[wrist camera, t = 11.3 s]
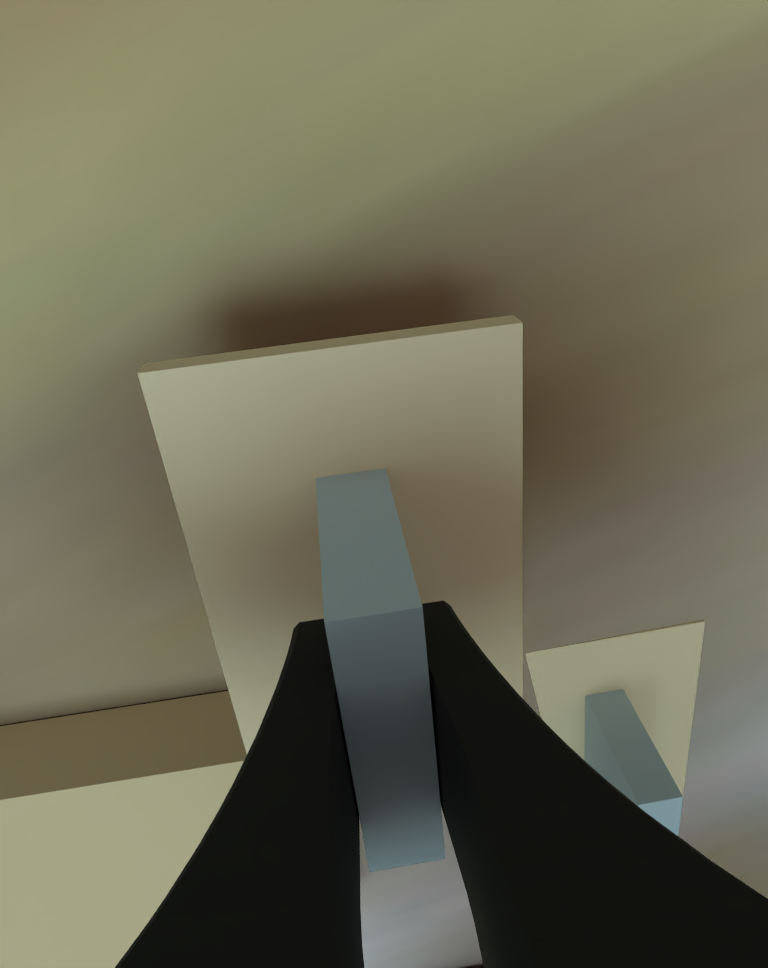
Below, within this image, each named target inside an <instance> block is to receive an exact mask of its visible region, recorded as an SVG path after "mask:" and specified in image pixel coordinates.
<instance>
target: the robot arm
mask: <svg viewBox="0 0 768 968" xmlns="http://www.w3.org/2000/svg"><path fill="white" fill-rule="evenodd" d="M422 607H423V617H424V628H425V639H426V650H427V661H428V672H429V683H430V694H431V705H432V716H433V727H434V738H435V749H436V760H437V771H438V782H439V793H440V803H441V807H442V810H443V813H444V817H445V820H446V823H447V827H448V830H449V834H450V837H451V840H452V844H453V847H454V851H455V854H456V857H457V861H458V864H459V867H460V871H461V874H462V878H463V881H464V884H465V888H466V891H467V895H468V899H469V903H470V907H471V911H472V915H473V918H474V922H475V927H476V932H477V936H478V941H479V946H480V951H481V956H482V961H483V965H484V968H768V899H767V898H766V897H764V896H762V895H761V894H759V893H758V892H757V891H755V890H754V889H752V888H751V887H749V886H748V885H746V884H745V883H743V882H742V881H740V880H739V879H737V878H736V877H734V876H733V875H731V874H730V873H728V872H727V871H725V870H724V869H722V868H721V867H719V866H718V865H716V864H715V863H714V862H712V861H711V860H709V859H708V858H707V857H705V856H704V855H702V854H701V853H700V852H698V851H697V850H696V849H694V848H693V847H692V846H690V845H689V844H688V843H686V842H685V841H684V840H682V839H681V838H680V837H678V836H677V835H676V834H674V833H673V832H672V831H670V830H669V829H668V828H666V827H665V826H663V825H662V824H661V823H659V822H658V821H657V820H655V819H654V818H653V817H651V816H650V815H649V814H647V813H646V812H645V811H643V810H642V809H641V808H640V807H638V806H637V805H636V804H635V803H634V802H632V801H631V800H630V799H629V798H627V797H626V796H625V795H624V794H623V793H621V792H620V791H619V790H618V789H617V788H615V787H614V786H613V785H612V784H611V783H609V782H608V781H607V780H606V779H605V778H604V777H603V776H601V775H600V774H599V773H598V772H597V771H596V770H595V769H593V768H592V767H591V766H590V765H589V764H588V763H587V762H586V761H584V760H583V759H582V758H581V757H580V756H579V755H578V754H577V753H576V752H575V751H574V750H573V749H572V748H570V747H569V746H568V745H567V744H566V743H565V742H564V741H563V740H562V739H561V738H560V737H559V736H558V735H557V734H556V733H555V732H554V731H553V730H552V729H551V728H550V727H549V726H548V725H547V724H546V723H545V722H544V721H543V720H542V719H541V718H540V717H539V716H538V715H537V714H536V713H535V712H534V710H533V709H532V708H531V707H530V706H529V705H528V704H527V703H526V702H525V701H524V700H523V699H522V697H521V696H520V695H519V694H518V693H517V692H516V691H515V689H514V688H513V687H512V686H511V685H510V684H509V683H508V681H507V680H506V679H505V678H504V677H503V676H502V674H501V673H500V672H499V671H498V670H497V669H496V667H495V666H494V665H493V664H492V663H491V661H490V660H489V659H488V658H487V656H486V655H485V654H484V653H483V651H482V650H481V649H480V647H479V646H478V645H477V643H476V642H475V641H474V639H473V638H472V637H471V635H470V634H469V633H468V631H467V630H466V628H465V627H464V626H463V624H462V623H461V621H460V620H459V618H458V617H457V615H456V613H455V612H454V610H453V609H452V607H451V605H449V604H448V603H447V602H445V601H444V600H443V601H437V602H430V603H423V604H422ZM115 968H364V961H363V950H362V935H361V915H360V844H359V811H358V805H357V800H356V794H355V789H354V783H353V778H352V772H351V767H350V761H349V756H348V750H347V745H346V739H345V734H344V728H343V723H342V717H341V712H340V706H339V701H338V695H337V690H336V684H335V679H334V673H333V668H332V662H331V657H330V651H329V646H328V640H327V635H326V629H325V624H324V619H317V620H311V621H304V622H299V623H298V624H297V625H296V626H295V628H294V629H293V633H292V638H291V642H290V646H289V649H288V653H287V656H286V659H285V663H284V666H283V669H282V672H281V674H280V677H279V680H278V683H277V686H276V688H275V691H274V694H273V696H272V698H271V701H270V703H269V706H268V708H267V711H266V713H265V716H264V718H263V721H262V723H261V726H260V728H259V730H258V732H257V735H256V737H255V739H254V741H253V743H252V745H251V747H250V749H249V752H248V754H247V756H246V758H245V760H244V762H243V764H242V766H241V768H240V770H239V772H238V774H237V777H236V779H235V781H234V783H233V785H232V786H231V788H230V790H229V792H228V794H227V796H226V798H225V800H224V802H223V803H222V805H221V807H220V809H219V811H218V812H217V814H216V816H215V818H214V819H213V821H212V823H211V825H210V826H209V828H208V830H207V832H206V833H205V835H204V837H203V838H202V840H201V842H200V844H199V845H198V847H197V848H196V850H195V852H194V853H193V855H192V856H191V858H190V860H189V861H188V863H187V864H186V866H185V867H184V869H183V871H182V872H181V874H180V875H179V877H178V878H177V880H176V881H175V883H174V885H173V886H172V888H171V889H170V891H169V892H168V894H167V895H166V897H165V898H164V900H163V901H162V903H161V904H160V906H159V907H158V909H157V910H156V912H155V913H154V915H153V916H152V917H151V919H150V920H149V922H148V923H147V925H146V926H145V927H144V929H143V930H142V931H141V933H140V934H139V936H138V937H137V938H136V940H135V941H134V942H133V944H132V945H131V946H130V948H129V949H128V950H127V952H126V953H125V954H124V956H123V957H122V958H121V960H120V961H119V963H118V964H117V965H116V967H115Z"/></svg>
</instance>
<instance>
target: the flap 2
mask: <svg viewBox="0 0 768 968" xmlns="http://www.w3.org/2000/svg"><path fill="white" fill-rule="evenodd" d="M704 627H705V621H704V620H700V621H695V622H690V623H684V624H679V625H674V626H668V627H663V628H658V629H652V630H647V631H642V632H636V633H631V634H626V635H620V636H615V637H610V638H604V639H599V640H593V641H588V642H583V643H577V644H572V645H567V646H561V647H556V648H551V649H545V650H540V651H535V652H529V653H525V654H526V659H527V663H528V667H529V671H530V675H531V679H532V683H533V687H534V691H535V695H536V699H537V703H538V707H539V711H540V716H541V719H542V720H543V721H544V722H545V723H546V724H547V725H548V726H549V727H550V728H551V729H552V730H553V731H554V732H555V733H556V734H557V735H558V736H559V737H560V738H561V739H562V740H563V741H564V742H565V743H566V744H567V745H568V746H569V747H570V748H572V749H573V750H574V751H575V752H576V753H577V754H578V755H579V756H580V757H581V758H582V759H583V760H584V761H586V762H587V763H588V764H589V765H590V766H591V767H592V768H593V769H595V770H596V771H597V772H598V773H599V774H600V775H601V776H603V777H604V778H605V779H606V780H607V781H608V782H609V783H611V784H612V785H613V786H614V787H615V788H617V789H618V790H619V791H620V792H621V793H623V794H624V795H625V796H626V797H627V798H629V799H630V800H631V801H632V802H634V803H635V804H636V805H637V806H638V807H640V808H641V809H642V810H643V811H645V812H646V813H647V814H649V815H650V816H651V817H653V818H654V819H655V820H657V821H658V822H659V823H661V824H662V825H663V826H665V827H666V828H668V829H669V830H670V831H672V832H673V833H674V834H676V835H677V836H678V834H679V826H680V818H681V810H682V802H683V792H684V784H685V776H686V769H687V761H688V753H689V745H690V737H691V729H692V721H693V713H694V706H695V698H696V690H697V682H698V674H699V666H700V658H701V650H702V642H703V635H704Z"/></svg>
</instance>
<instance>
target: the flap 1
mask: <svg viewBox="0 0 768 968" xmlns="http://www.w3.org/2000/svg"><path fill="white" fill-rule="evenodd" d="M138 377H139V380H140V384H141V387H142V391H143V394H144V398H145V401H146V405H147V408H148V411H149V415H150V418H151V422H152V425H153V429H154V432H155V436H156V439H157V443H158V446H159V450H160V453H161V457H162V460H163V464H164V467H165V471H166V474H167V478H168V481H169V485H170V488H171V492H172V495H173V499H174V502H175V506H176V509H177V513H178V516H179V520H180V523H181V527H182V530H183V534H184V537H185V541H186V544H187V548H188V551H189V554H190V558H191V561H192V565H193V568H194V572H195V575H196V579H197V582H198V586H199V589H200V593H201V596H202V600H203V603H204V607H205V610H206V614H207V617H208V621H209V624H210V628H211V631H212V635H213V638H214V642H215V645H216V649H217V652H218V656H219V659H220V663H221V666H222V670H223V673H224V677H225V680H226V684H227V687H228V691H229V694H230V697H231V701H232V704H233V708H234V711H235V715H236V718H237V722H238V725H239V729H240V732H241V736H242V739H243V743H244V746H245V750H246V753H247V754H248V752H249V749H250V747H251V745H252V743H253V741H254V739H255V737H256V735H257V732H258V730H259V728H260V726H261V723H262V721H263V718H264V716H265V713H266V711H267V708H268V706H269V703H270V701H271V698H272V696H273V694H274V691H275V688H276V686H277V683H278V680H279V677H280V674H281V672H282V669H283V666H284V663H285V659H286V656H287V653H288V649H289V646H290V642H291V638H292V633H293V629H294V628H295V626H296V625H297V624H298V623H299V622H304V621H311V620H317V619H324V624H325V629H326V635H327V640H328V646H329V651H330V657H331V662H332V668H333V673H334V679H335V684H336V690H337V695H338V701H339V706H340V712H341V717H342V723H343V728H344V734H345V739H346V745H347V750H348V756H349V761H350V767H351V772H352V778H353V783H354V789H355V794H356V800H357V805H358V811H359V816H360V822H361V827H362V833H363V838H364V844H365V849H366V855H367V860H368V866H369V871H370V872H373V871H378V870H384V869H390V868H395V867H401V866H407V865H412V864H418V863H424V862H429V861H435V860H441V859H445V848H444V837H443V826H442V815H441V804H440V793H439V782H438V771H437V760H436V749H435V738H434V727H433V716H432V705H431V694H430V683H429V672H428V661H427V650H426V639H425V628H424V617H423V607H422V604H423V603H430V602H437V601H443V600H444V601H445V602H447V603H448V604H449V605H451V607H452V609H453V610H454V612H455V613H456V615H457V617H458V618H459V620H460V621H461V623H462V624H463V626H464V627H465V628H466V630H467V631H468V633H469V634H470V635H471V637H472V638H473V639H474V641H475V642H476V643H477V645H478V646H479V647H480V649H481V650H482V651H483V653H484V654H485V655H486V656H487V658H488V659H489V660H490V661H491V663H492V664H493V665H494V666H495V667H496V669H497V670H498V671H499V672H500V673H501V674H502V676H503V677H504V678H505V679H506V680H507V681H508V683H509V684H510V685H511V686H512V687H513V688H514V689H515V691H516V692H517V693H518V694H519V695H520V696H521V697H522V699H523V323H522V322H521V321H520V320H519V319H518V318H517V317H515V316H514V315H509V316H501V317H494V318H486V319H478V320H471V321H463V322H455V323H448V324H440V325H433V326H425V327H417V328H410V329H402V330H394V331H387V332H379V333H372V334H364V335H356V336H349V337H341V338H333V339H326V340H318V341H311V342H303V343H295V344H288V345H280V346H272V347H265V348H257V349H250V350H242V351H234V352H227V353H219V354H211V355H204V356H196V357H189V358H181V359H173V360H166V361H158V362H150V363H144V364H143V366H142V367H141V369H140V370H139V372H138Z"/></svg>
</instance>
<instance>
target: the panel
mask: <svg viewBox="0 0 768 968" xmlns="http://www.w3.org/2000/svg"><path fill="white" fill-rule="evenodd" d="M246 756H247V753H246V750H245V746H244V743H243V739H242V736H241V732H240V729H239V725H238V722H237V718H236V715H235V711H234V708H233V704H232V701H231V697H230V694H229V691H224V692H217V693H211V694H205V695H198V696H192V697H185V698H179V699H172V700H166V701H160V702H153V703H147V704H140V705H134V706H127V707H121V708H115V709H108V710H102V711H95V712H89V713H82V714H76V715H70V716H63V717H57V718H50V719H44V720H37V721H31V722H25V723H18V724H12V725H5V726H0V968H115V967H116V965H117V964H118V963H119V961H120V960H121V958H122V957H123V956H124V954H125V953H126V952H127V950H128V949H129V948H130V946H131V945H132V944H133V942H134V941H135V940H136V938H137V937H138V936H139V934H140V933H141V931H142V930H143V929H144V927H145V926H146V925H147V923H148V922H149V920H150V919H151V917H152V916H153V915H154V913H155V912H156V910H157V909H158V907H159V906H160V904H161V903H162V901H163V900H164V898H165V897H166V895H167V894H168V892H169V891H170V889H171V888H172V886H173V885H174V883H175V881H176V880H177V878H178V877H179V875H180V874H181V872H182V871H183V869H184V867H185V866H186V864H187V863H188V861H189V860H190V858H191V856H192V855H193V853H194V852H195V850H196V848H197V847H198V845H199V844H200V842H201V840H202V838H203V837H204V835H205V833H206V832H207V830H208V828H209V826H210V825H211V823H212V821H213V819H214V818H215V816H216V814H217V812H218V811H219V809H220V807H221V805H222V803H223V802H224V800H225V798H226V796H227V794H228V792H229V790H230V788H231V786H232V785H233V783H234V781H235V779H236V777H237V774H238V772H239V770H240V768H241V766H242V764H243V762H244V760H245V758H246Z"/></svg>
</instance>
